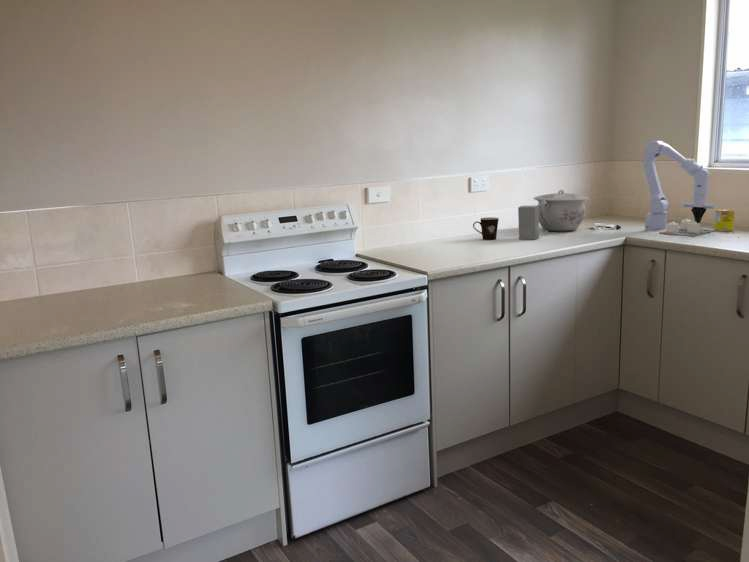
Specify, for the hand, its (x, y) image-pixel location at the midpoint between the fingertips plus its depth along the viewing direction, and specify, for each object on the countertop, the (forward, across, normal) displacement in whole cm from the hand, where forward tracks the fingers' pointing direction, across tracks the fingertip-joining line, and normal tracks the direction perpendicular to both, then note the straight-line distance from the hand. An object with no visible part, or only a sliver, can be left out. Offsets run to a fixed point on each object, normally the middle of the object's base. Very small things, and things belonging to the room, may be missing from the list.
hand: (697, 223), depth 316 cm
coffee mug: (+6, -66, -76) cm, 100 cm away
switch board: (+5, 0, -8) cm, 10 cm away
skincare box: (+6, -51, -62) cm, 81 cm away
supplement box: (+5, +8, +9) cm, 13 cm away
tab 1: (+3, -4, -15) cm, 16 cm away
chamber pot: (+6, -57, -29) cm, 64 cm away
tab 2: (+3, -5, -1) cm, 6 cm away
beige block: (+3, +2, -8) cm, 9 cm away
